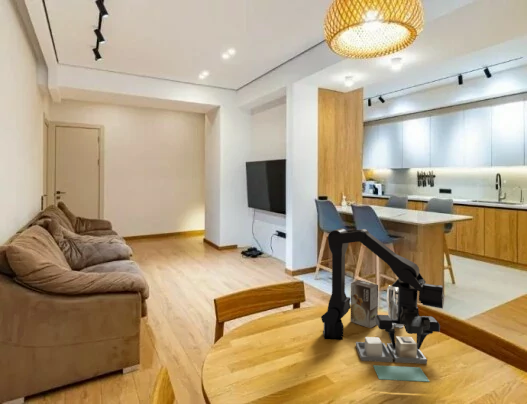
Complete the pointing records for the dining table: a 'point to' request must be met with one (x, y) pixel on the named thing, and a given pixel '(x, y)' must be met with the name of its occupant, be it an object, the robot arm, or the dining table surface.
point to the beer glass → (392, 303)
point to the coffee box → (364, 303)
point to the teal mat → (400, 373)
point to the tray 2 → (420, 357)
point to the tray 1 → (363, 356)
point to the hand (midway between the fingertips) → (405, 348)
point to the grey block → (373, 346)
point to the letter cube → (406, 347)
